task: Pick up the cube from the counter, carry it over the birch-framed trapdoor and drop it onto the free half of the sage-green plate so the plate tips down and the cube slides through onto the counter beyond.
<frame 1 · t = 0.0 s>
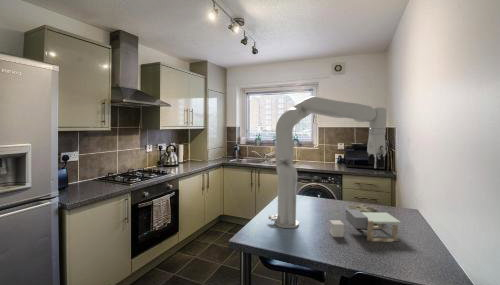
hand: (375, 165, 128), 31 cm above the counter, fingers open, 9 cm apart
cube: (336, 234, 119), on the counter
geode: (363, 218, 141), on the counter
trapdoor: (371, 218, 119), point 8 cm above the counter, hinge at 0.0°
frame: (363, 234, 120), on the counter
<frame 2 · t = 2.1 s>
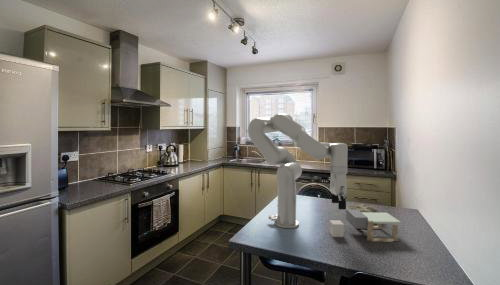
hand: (338, 205, 118), 14 cm above the counter, fingers open, 9 cm apart
nothing on the counter moved.
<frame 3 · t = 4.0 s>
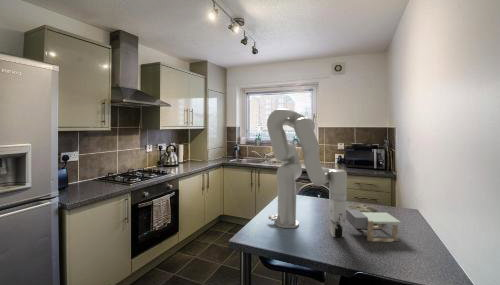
hand: (336, 233, 119), 0 cm above the counter, fingers closed on cube, 5 cm apart
cube: (336, 234, 119), on the counter, touching gripper
everything else where it was.
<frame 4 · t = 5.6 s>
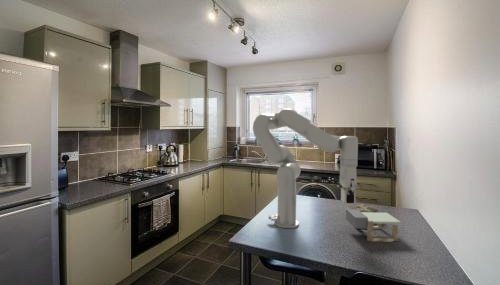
hand: (348, 200, 118), 16 cm above the counter, fingers closed on cube, 5 cm apart
cube: (348, 201, 118), point 16 cm above the counter, touching gripper
everything else where it was.
when the fingers open (12 cm above the counter, at t = 7.6 s): cube drops 8 cm and tips over, resting on trapdoor.
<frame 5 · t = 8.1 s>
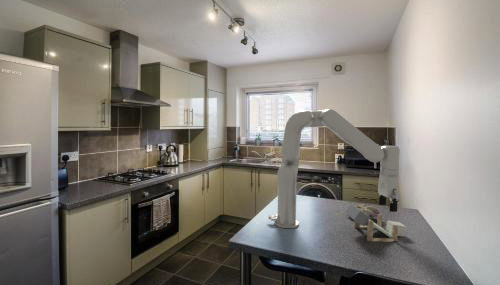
hand: (387, 207, 119), 13 cm above the counter, fingers open, 9 cm apart
cube: (389, 227, 119), point 3 cm above the counter, tilted 98°, touching trapdoor
trapdoor: (369, 222, 119), point 5 cm above the counter, hinge at 33.0°, touching cube
everything else where it was.
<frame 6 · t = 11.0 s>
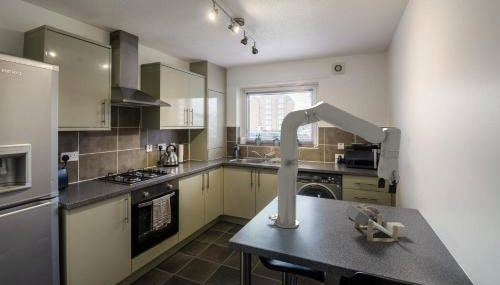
hand: (386, 190, 118), 21 cm above the counter, fingers open, 9 cm apart
cube: (389, 229, 119), point 2 cm above the counter, tilted 90°, touching trapdoor
trapdoor: (370, 222, 119), point 6 cm above the counter, hinge at 30.6°, touching cube
everything else where it was.
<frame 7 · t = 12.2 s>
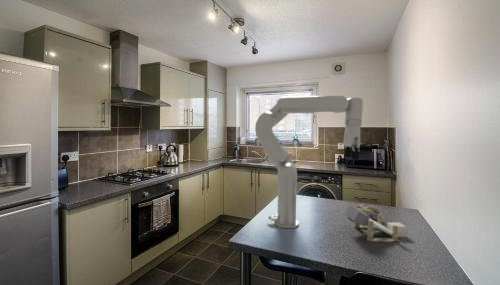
hand: (351, 158, 124), 35 cm above the counter, fingers open, 9 cm apart
trapdoor: (370, 222, 119), point 6 cm above the counter, hinge at 28.0°, touching cube
everything else where it was.
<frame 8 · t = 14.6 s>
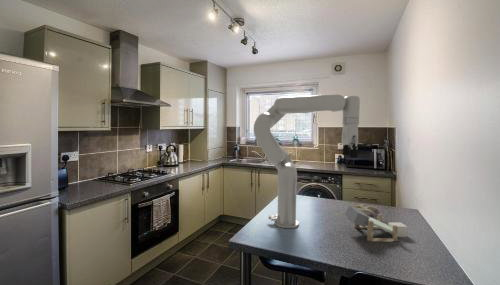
hand: (349, 156, 124), 36 cm above the counter, fingers open, 9 cm apart
cube: (391, 229, 119), point 2 cm above the counter, tilted 90°
trapdoor: (370, 221, 119), point 6 cm above the counter, hinge at 22.3°
everything else where it was.
at the end: cube point 2.3 cm above the counter; cube inside the target area (4.8 cm from its centre), point 2.3 cm above the counter; the gripper is holding nothing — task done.
